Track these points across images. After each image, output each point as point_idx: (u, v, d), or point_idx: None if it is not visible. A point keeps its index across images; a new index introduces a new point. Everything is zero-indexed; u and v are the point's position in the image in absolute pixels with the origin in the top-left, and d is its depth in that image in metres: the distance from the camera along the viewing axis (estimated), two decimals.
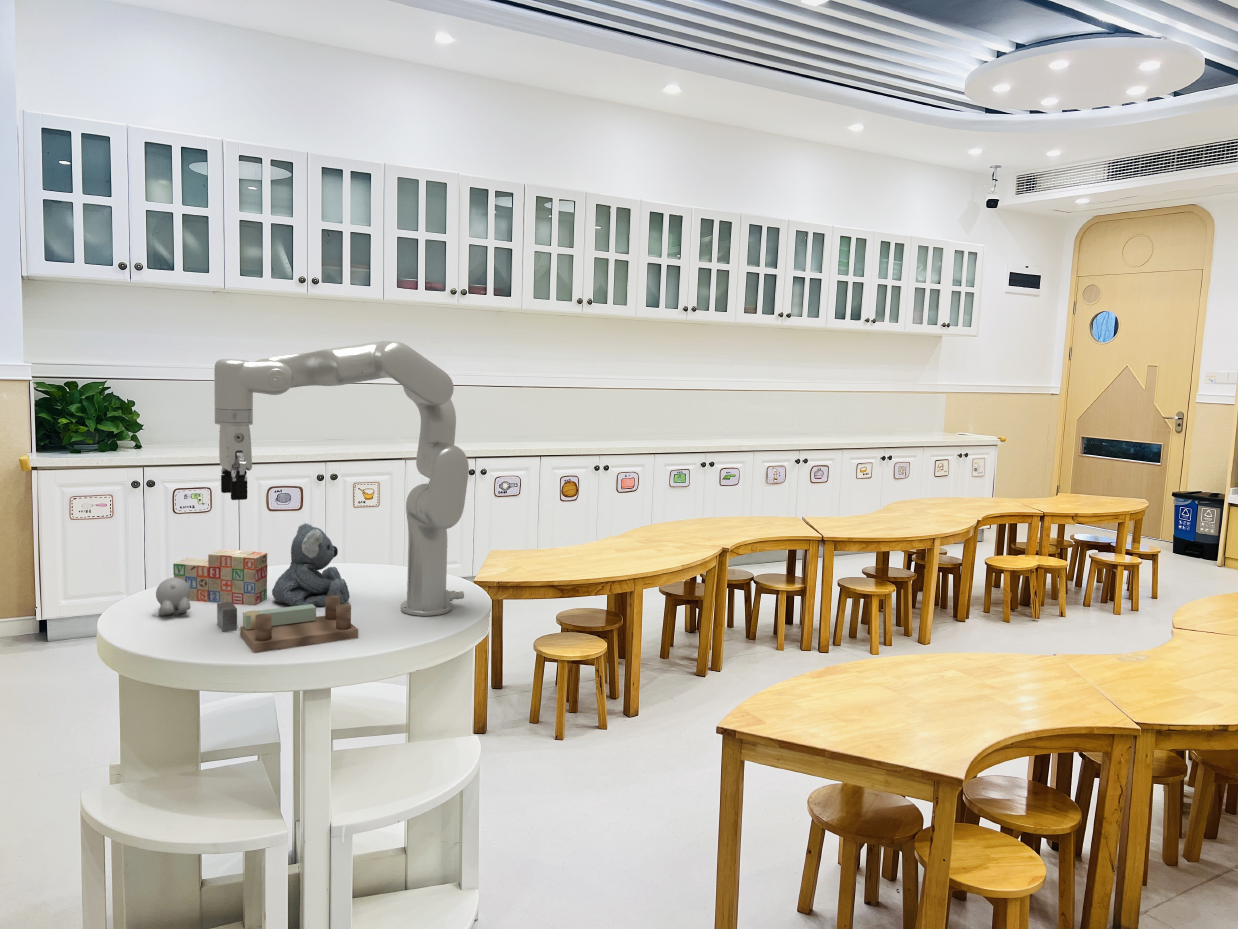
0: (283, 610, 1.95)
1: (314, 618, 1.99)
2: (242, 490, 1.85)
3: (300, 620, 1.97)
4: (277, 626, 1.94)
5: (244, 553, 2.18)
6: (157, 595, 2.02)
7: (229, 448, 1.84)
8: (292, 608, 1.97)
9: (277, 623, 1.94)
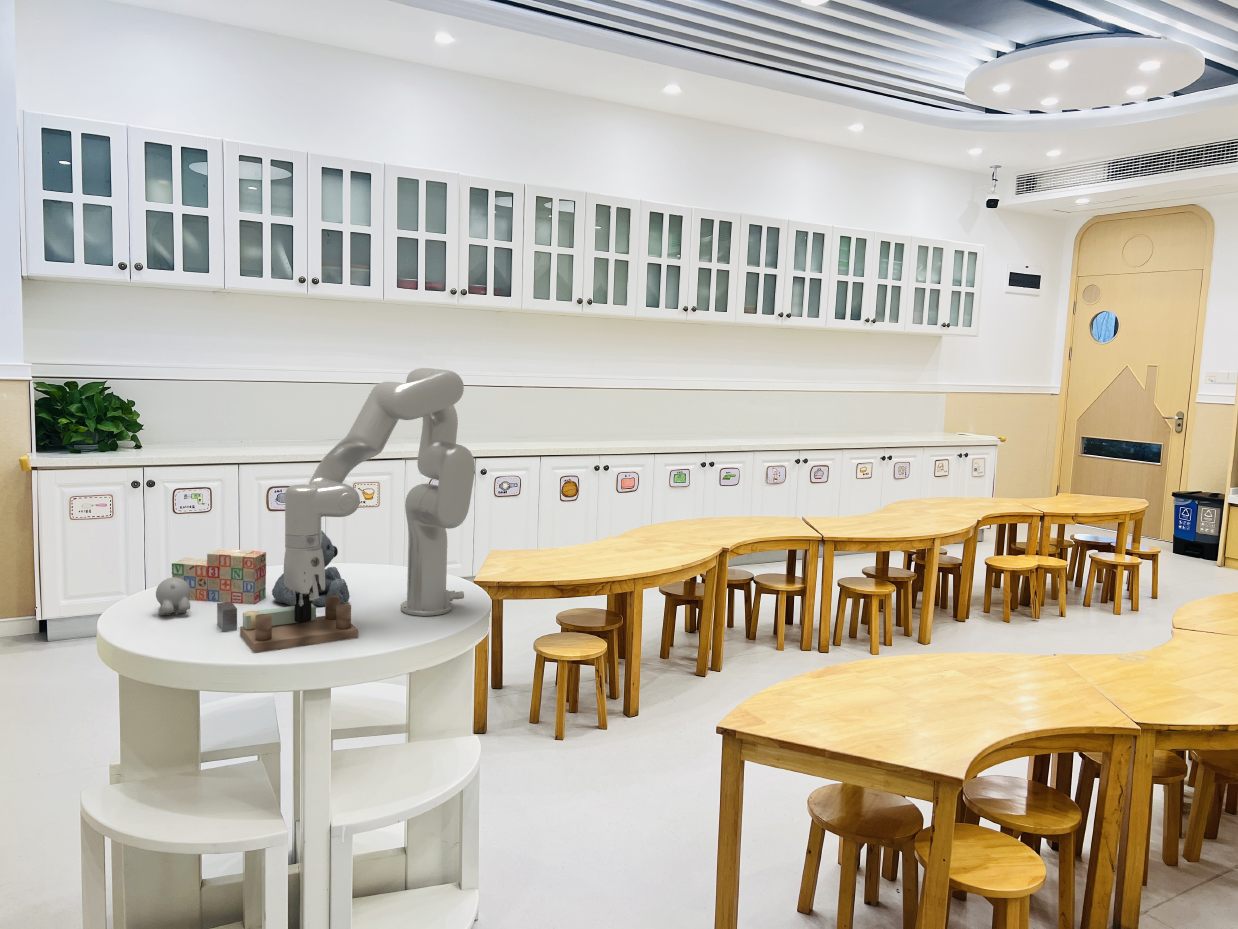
0: (283, 610, 1.96)
1: (314, 618, 1.99)
2: (308, 613, 1.95)
3: None
4: (277, 626, 1.94)
5: (243, 552, 2.19)
6: (157, 595, 2.03)
7: (307, 573, 1.90)
8: (292, 608, 1.97)
9: (277, 623, 1.94)
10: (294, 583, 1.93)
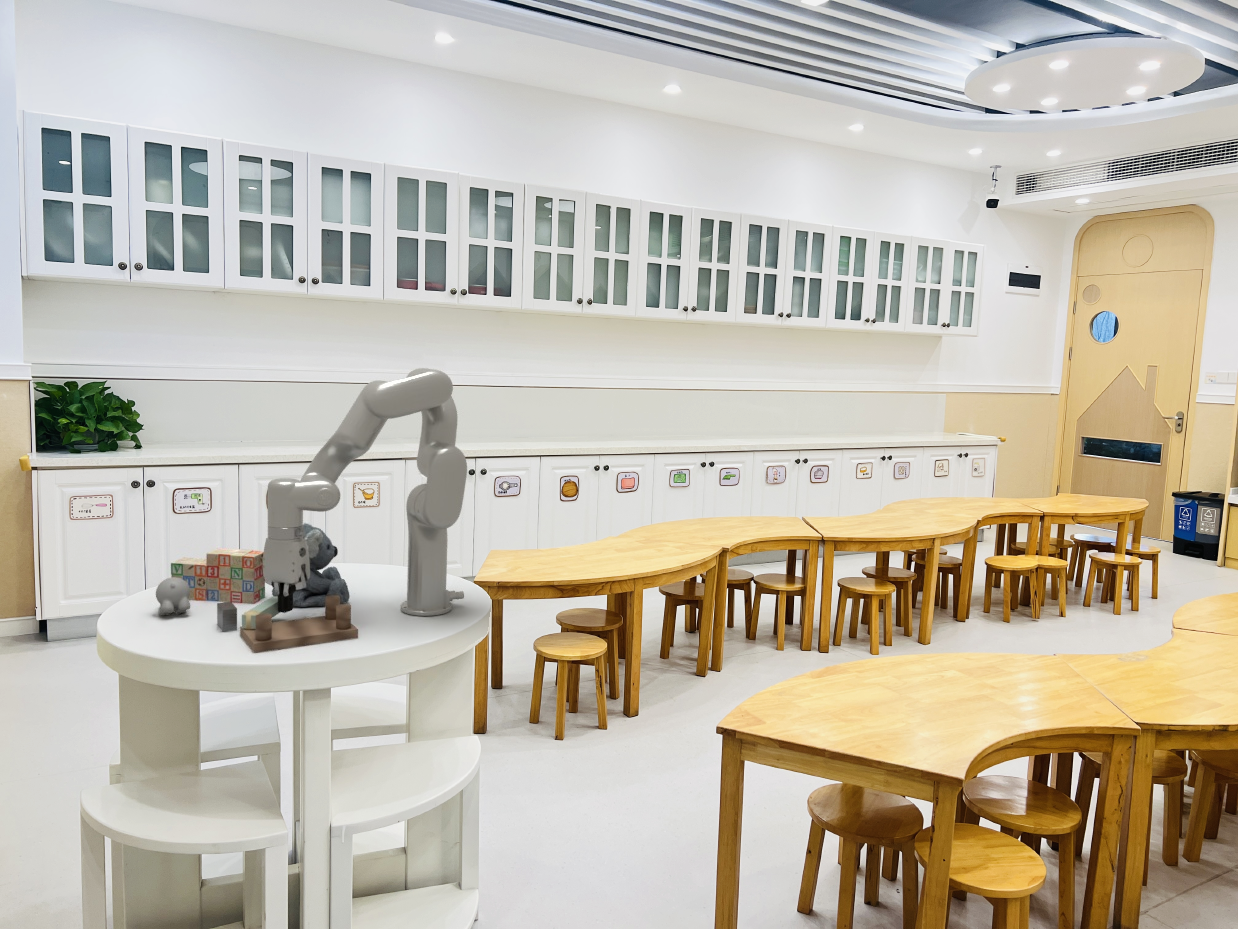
0: (268, 605, 1.99)
1: None
2: (292, 602, 2.02)
3: (278, 612, 2.03)
4: (277, 626, 1.94)
5: (242, 552, 2.19)
6: (157, 595, 2.03)
7: (296, 563, 1.97)
8: (269, 602, 2.01)
9: None
10: (279, 574, 1.98)
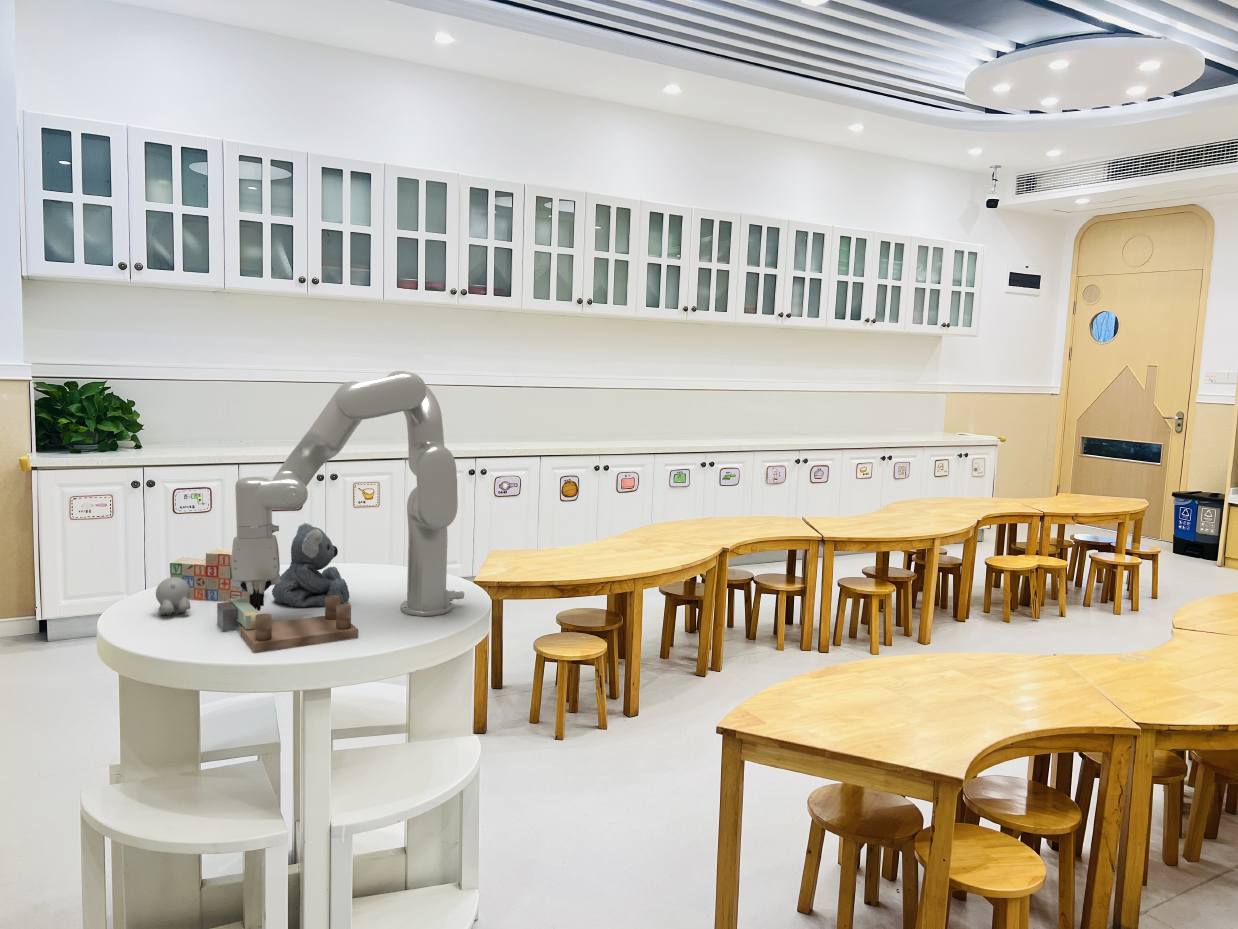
0: (247, 605, 1.98)
1: None
2: (263, 599, 2.03)
3: None
4: (277, 626, 1.94)
5: None
6: (157, 595, 2.03)
7: (277, 558, 2.01)
8: (242, 603, 1.99)
9: None
10: (256, 573, 1.99)
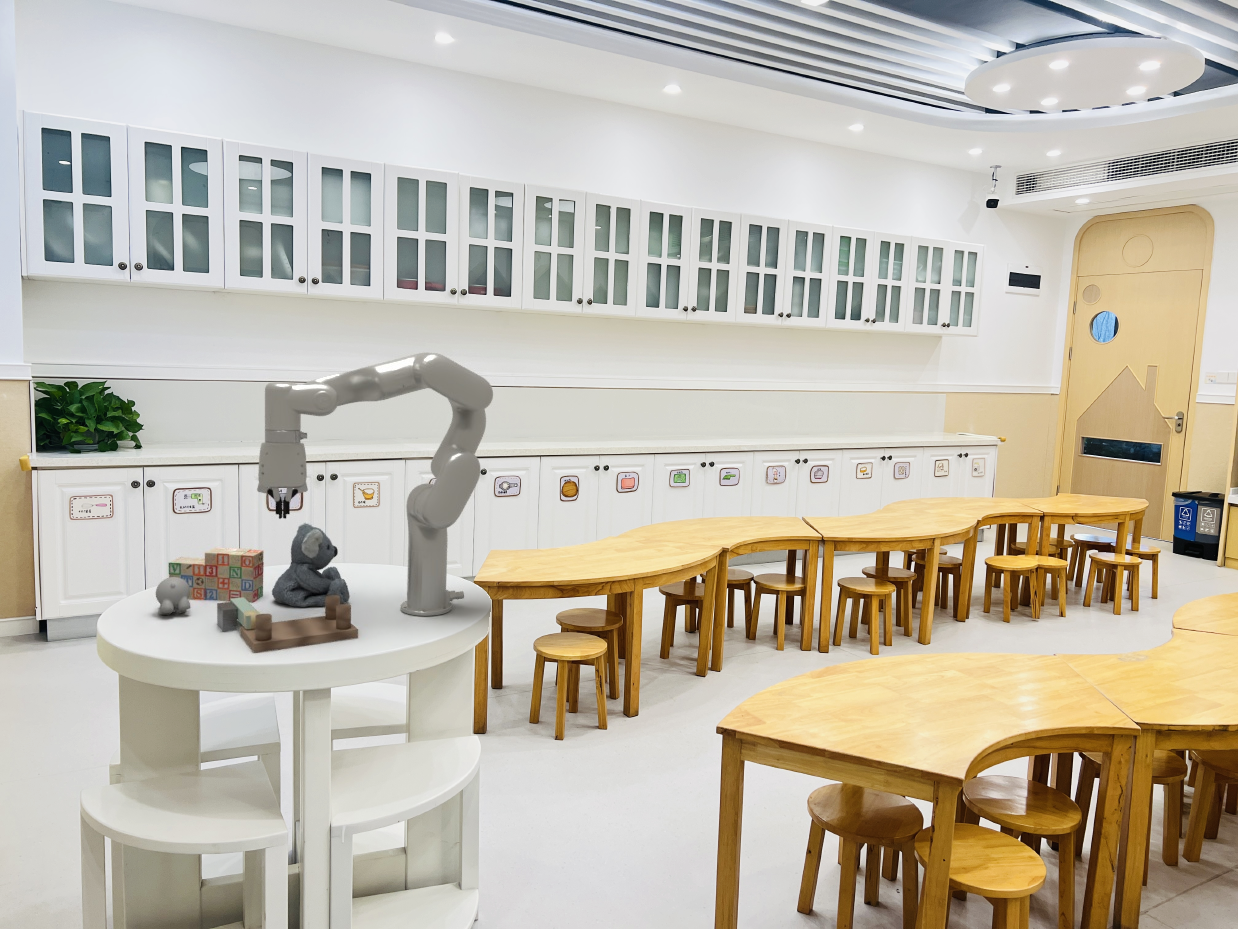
0: (247, 605, 1.98)
1: None
2: None
3: None
4: (277, 626, 1.94)
5: (240, 551, 2.20)
6: (157, 594, 2.03)
7: (304, 465, 1.98)
8: (242, 603, 1.99)
9: None
10: (284, 479, 1.96)
